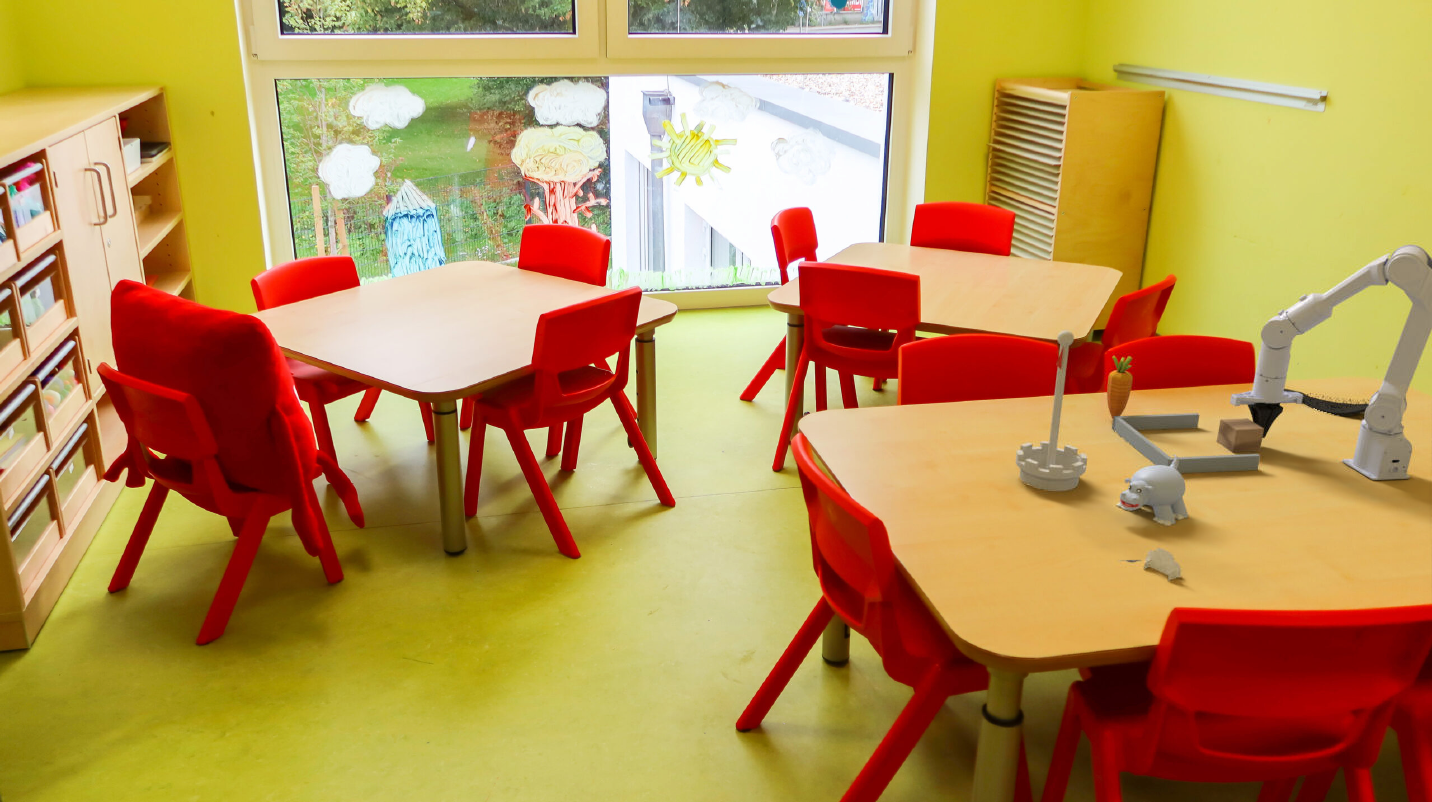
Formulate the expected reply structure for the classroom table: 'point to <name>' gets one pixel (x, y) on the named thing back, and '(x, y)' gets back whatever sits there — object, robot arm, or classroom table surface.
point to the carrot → (1119, 387)
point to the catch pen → (1127, 430)
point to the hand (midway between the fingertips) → (1259, 436)
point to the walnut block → (1240, 435)
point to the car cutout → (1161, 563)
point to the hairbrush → (1333, 405)
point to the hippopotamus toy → (1157, 492)
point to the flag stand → (1053, 443)
